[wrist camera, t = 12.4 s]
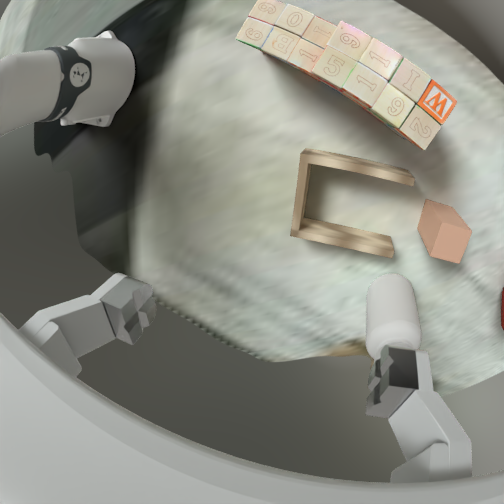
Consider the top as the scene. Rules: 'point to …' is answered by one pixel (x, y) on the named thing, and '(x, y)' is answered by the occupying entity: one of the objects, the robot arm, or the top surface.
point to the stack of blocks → (352, 67)
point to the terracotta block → (443, 231)
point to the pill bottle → (391, 315)
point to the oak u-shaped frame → (335, 232)
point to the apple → (502, 310)
